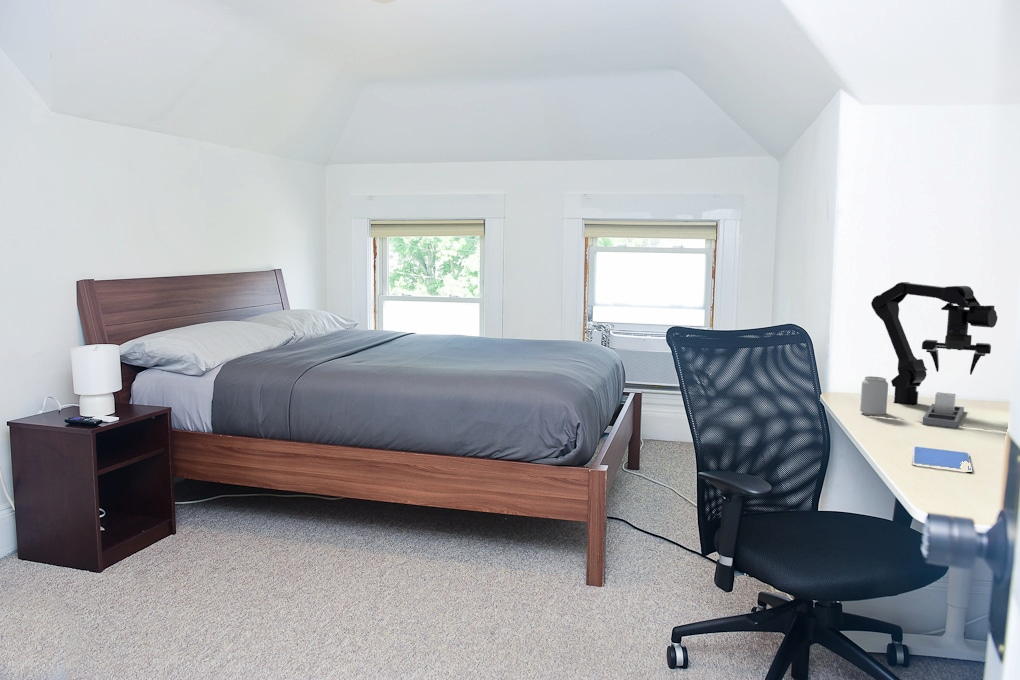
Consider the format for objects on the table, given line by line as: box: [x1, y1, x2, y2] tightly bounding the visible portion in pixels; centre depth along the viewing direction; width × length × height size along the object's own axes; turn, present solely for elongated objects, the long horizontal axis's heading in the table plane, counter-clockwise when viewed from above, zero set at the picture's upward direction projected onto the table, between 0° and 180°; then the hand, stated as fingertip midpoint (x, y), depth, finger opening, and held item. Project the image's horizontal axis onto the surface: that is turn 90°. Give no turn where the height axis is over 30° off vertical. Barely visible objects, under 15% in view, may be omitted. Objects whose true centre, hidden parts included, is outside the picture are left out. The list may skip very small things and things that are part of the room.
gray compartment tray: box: [921, 403, 965, 429], centre depth 227 cm, size 9×27×2 cm, turn 145°
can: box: [859, 375, 889, 417], centre depth 231 cm, size 8×8×12 cm
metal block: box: [934, 391, 957, 415], centre depth 226 cm, size 5×5×7 cm
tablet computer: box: [912, 446, 971, 470], centre depth 179 cm, size 19×13×1 cm, turn 150°
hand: (953, 373), depth 234 cm, fingers open, 9 cm apart
